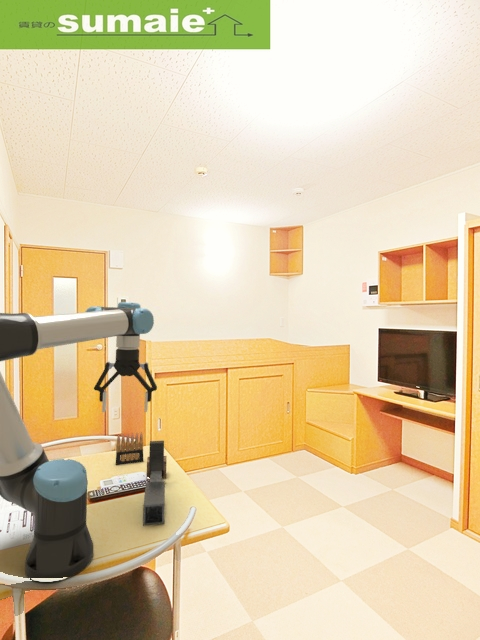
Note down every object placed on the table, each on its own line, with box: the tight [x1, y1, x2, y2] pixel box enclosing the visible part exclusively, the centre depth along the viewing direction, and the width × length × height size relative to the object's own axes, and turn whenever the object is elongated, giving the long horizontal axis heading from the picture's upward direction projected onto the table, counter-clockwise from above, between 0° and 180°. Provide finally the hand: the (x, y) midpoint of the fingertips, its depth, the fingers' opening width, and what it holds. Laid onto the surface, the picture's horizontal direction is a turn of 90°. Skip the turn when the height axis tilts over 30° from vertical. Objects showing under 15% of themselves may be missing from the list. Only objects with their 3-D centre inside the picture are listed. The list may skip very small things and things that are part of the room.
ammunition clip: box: [115, 432, 144, 466], centre depth 149 cm, size 11×2×12 cm, turn 111°
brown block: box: [146, 455, 168, 480], centre depth 138 cm, size 5×7×6 cm
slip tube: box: [148, 440, 165, 482], centre depth 128 cm, size 22×5×14 cm, turn 11°
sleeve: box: [142, 480, 166, 527], centre depth 114 cm, size 14×6×6 cm, turn 11°
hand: (125, 411), depth 124 cm, fingers open, 13 cm apart
